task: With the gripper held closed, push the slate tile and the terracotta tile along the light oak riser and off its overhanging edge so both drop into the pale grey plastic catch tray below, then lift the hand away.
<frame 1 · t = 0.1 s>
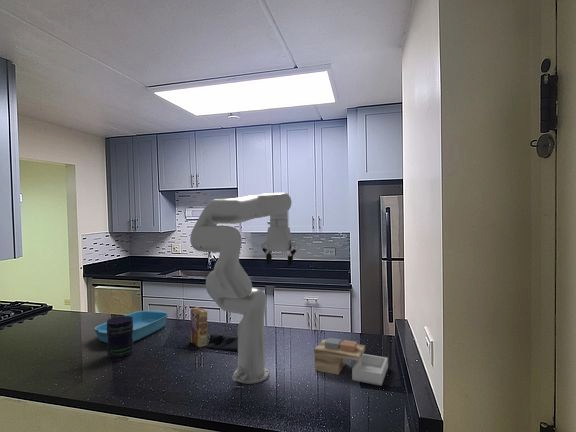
hand: (279, 264, 145), 37 cm above the counter, tool pointing down, fingers open, 9 cm apart
storage jar: (120, 355, 143), on the counter
slate tile: (333, 346, 130), point 8 cm above the counter, touching oak riser
black piece: (233, 346, 153), on the counter
casserole dish: (134, 334, 169), on the counter
candy box: (199, 344, 155), on the counter
catch tray: (370, 374, 125), on the counter
terracotta tile: (348, 348, 128), point 8 cm above the counter, touching oak riser
oak riser: (330, 366, 131), on the counter
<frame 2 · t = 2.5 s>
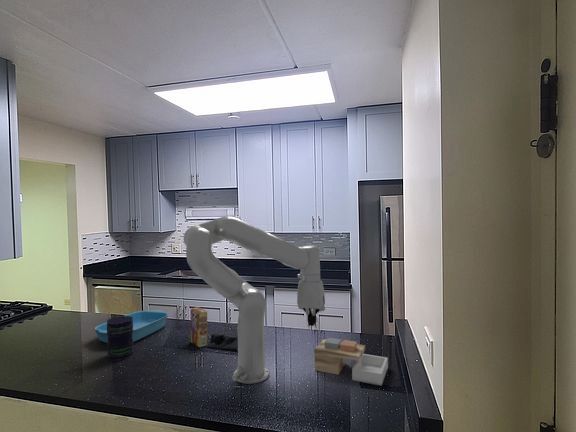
hand: (312, 324, 134), 15 cm above the counter, tool pointing down, fingers closed
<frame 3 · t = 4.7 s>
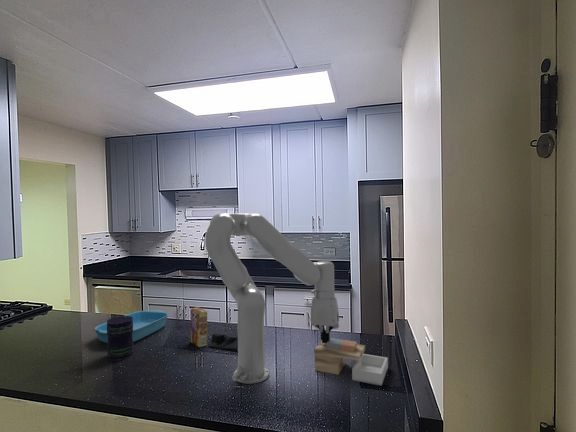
hand: (325, 341, 132), 9 cm above the counter, tool pointing down, fingers closed
slate tile: (335, 346, 130), point 8 cm above the counter, touching gripper, oak riser
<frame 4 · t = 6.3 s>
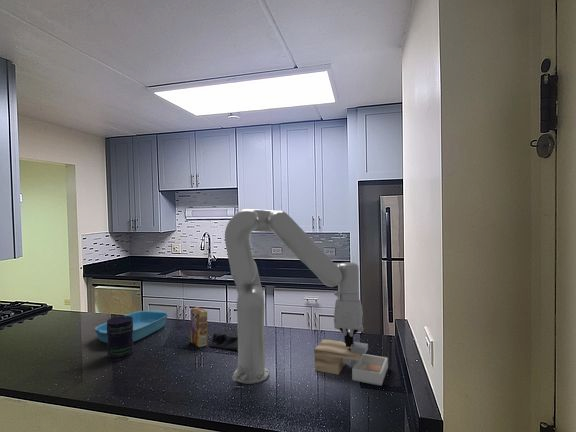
hand: (349, 345, 128), 9 cm above the counter, tool pointing down, fingers closed
slate tile: (359, 350, 126), point 8 cm above the counter, touching gripper
terracotta tile: (373, 367, 124), point 3 cm above the counter, tilted 180°, touching catch tray
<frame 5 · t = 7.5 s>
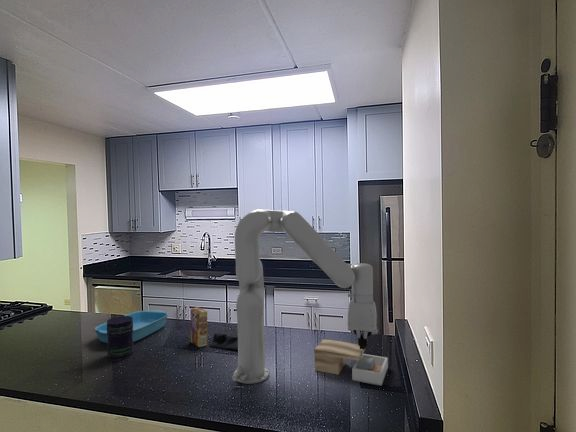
hand: (362, 348, 126), 9 cm above the counter, tool pointing down, fingers closed
slate tile: (365, 360, 125), point 5 cm above the counter, tilted 169°, touching catch tray, terracotta tile
terracotta tile: (373, 367, 124), point 3 cm above the counter, tilted 180°, touching catch tray, slate tile
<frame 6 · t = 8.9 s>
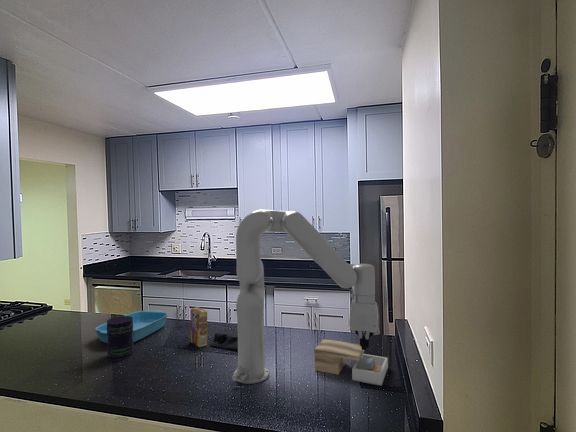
hand: (364, 348, 125), 9 cm above the counter, tool pointing down, fingers closed
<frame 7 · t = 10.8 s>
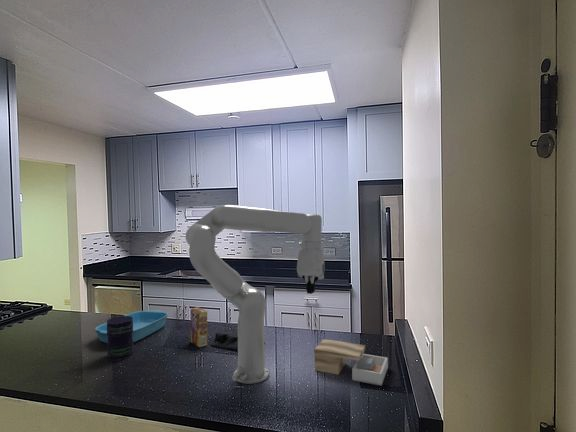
hand: (310, 292, 135), 27 cm above the counter, tool pointing down, fingers closed
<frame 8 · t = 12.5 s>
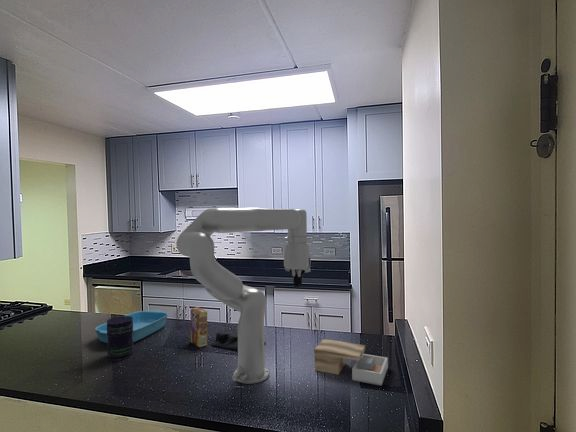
hand: (297, 286, 138), 29 cm above the counter, tool pointing down, fingers closed
at the end: terracotta tile inside the target area (1.0 cm from its centre), point 2.6 cm above the counter; slate tile inside the target area (1.8 cm from its centre), point 4.6 cm above the counter; terracotta tile touching catch tray, slate tile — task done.
